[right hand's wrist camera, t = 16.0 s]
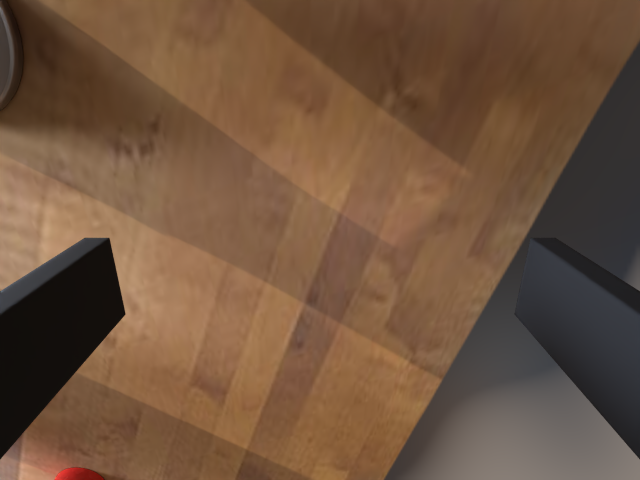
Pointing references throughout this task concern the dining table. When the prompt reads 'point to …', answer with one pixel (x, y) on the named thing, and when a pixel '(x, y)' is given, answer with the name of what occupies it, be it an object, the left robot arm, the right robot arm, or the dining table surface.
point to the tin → (78, 474)
